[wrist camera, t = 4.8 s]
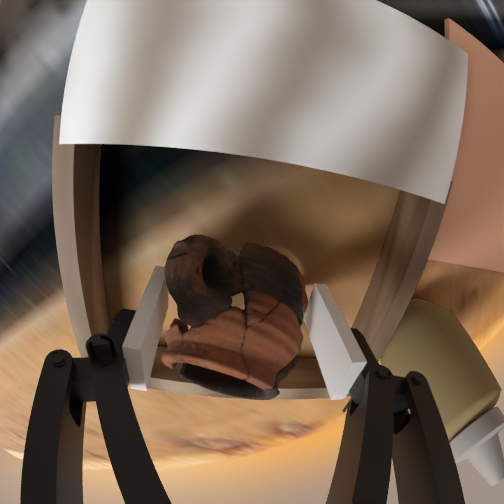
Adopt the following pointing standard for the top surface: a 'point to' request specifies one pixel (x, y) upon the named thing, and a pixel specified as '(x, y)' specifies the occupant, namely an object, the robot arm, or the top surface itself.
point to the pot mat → (476, 165)
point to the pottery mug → (234, 317)
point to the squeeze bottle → (452, 382)
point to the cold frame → (262, 127)
